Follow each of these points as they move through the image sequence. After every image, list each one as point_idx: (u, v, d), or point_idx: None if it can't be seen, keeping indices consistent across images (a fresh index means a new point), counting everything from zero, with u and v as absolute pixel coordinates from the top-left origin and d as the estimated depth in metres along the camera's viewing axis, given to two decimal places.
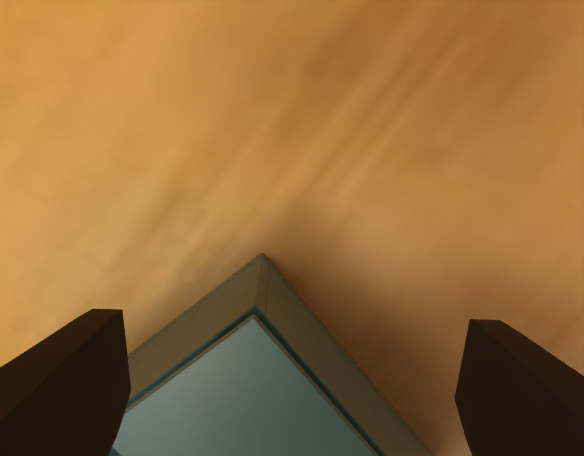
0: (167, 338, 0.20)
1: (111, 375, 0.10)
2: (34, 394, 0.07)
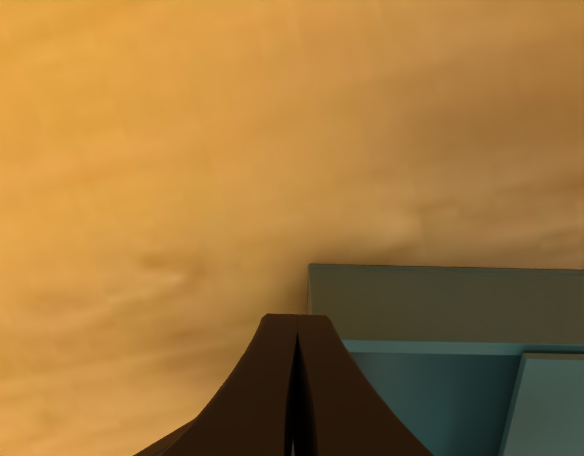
0: (523, 290, 0.19)
1: (294, 380, 0.10)
2: None
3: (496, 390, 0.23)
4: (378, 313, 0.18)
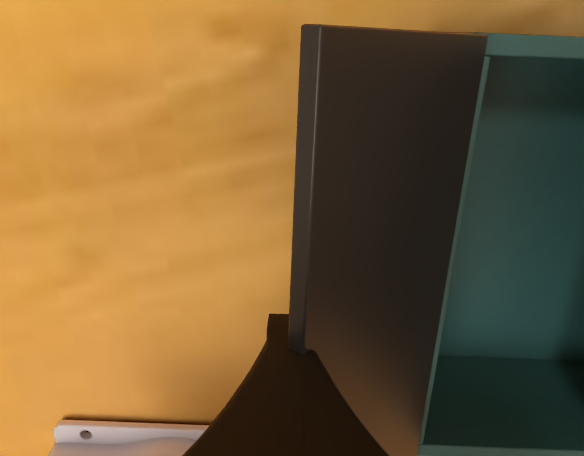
0: None
1: None
2: None
3: None
4: None
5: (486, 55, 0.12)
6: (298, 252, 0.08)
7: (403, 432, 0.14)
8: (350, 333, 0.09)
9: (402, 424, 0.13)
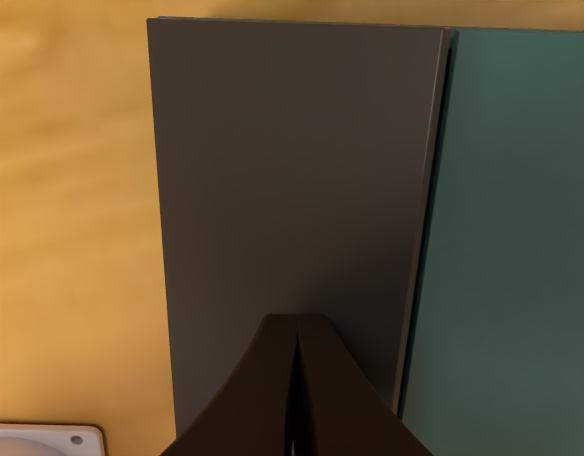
0: None
1: (294, 380, 0.10)
2: None
3: None
4: None
5: None
6: (418, 229, 0.09)
7: None
8: None
9: None
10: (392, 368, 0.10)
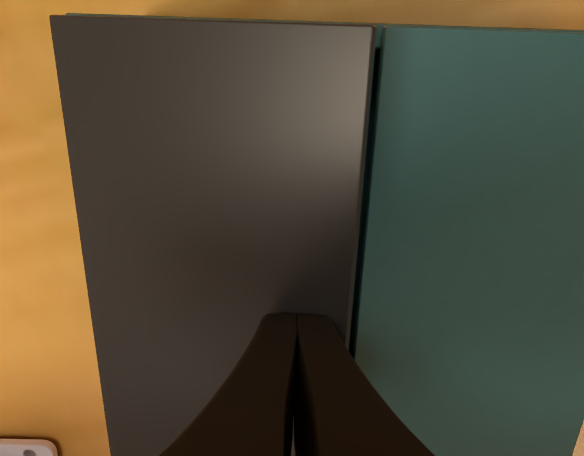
0: None
1: (294, 380, 0.10)
2: None
3: None
4: None
5: None
6: (358, 212, 0.09)
7: None
8: None
9: None
10: None
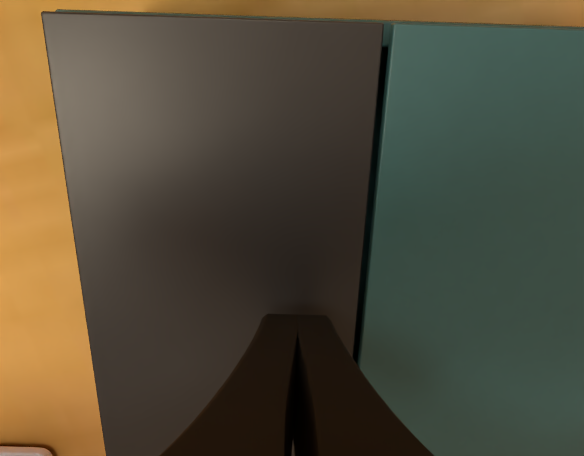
0: None
1: (294, 380, 0.10)
2: None
3: None
4: None
5: None
6: (367, 186, 0.11)
7: None
8: None
9: None
10: (353, 305, 0.12)
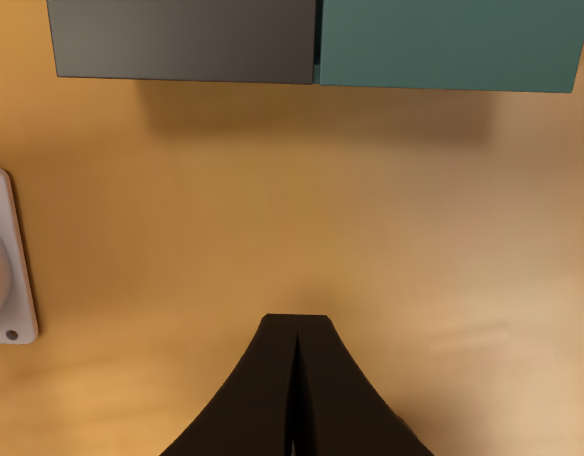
0: None
1: (294, 380, 0.10)
2: None
3: None
4: None
5: None
6: None
7: None
8: None
9: None
10: None
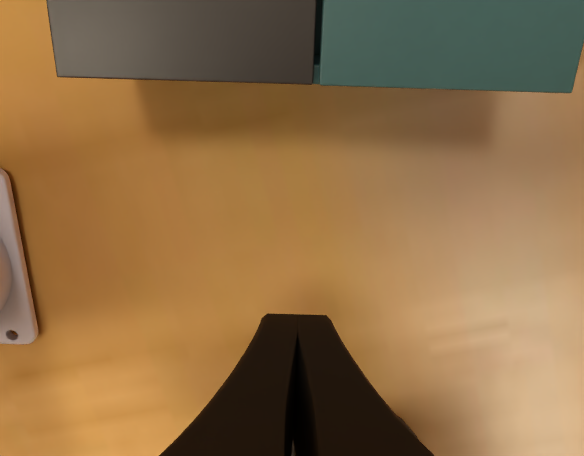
0: None
1: (294, 380, 0.10)
2: None
3: None
4: None
5: None
6: None
7: None
8: None
9: None
10: None
